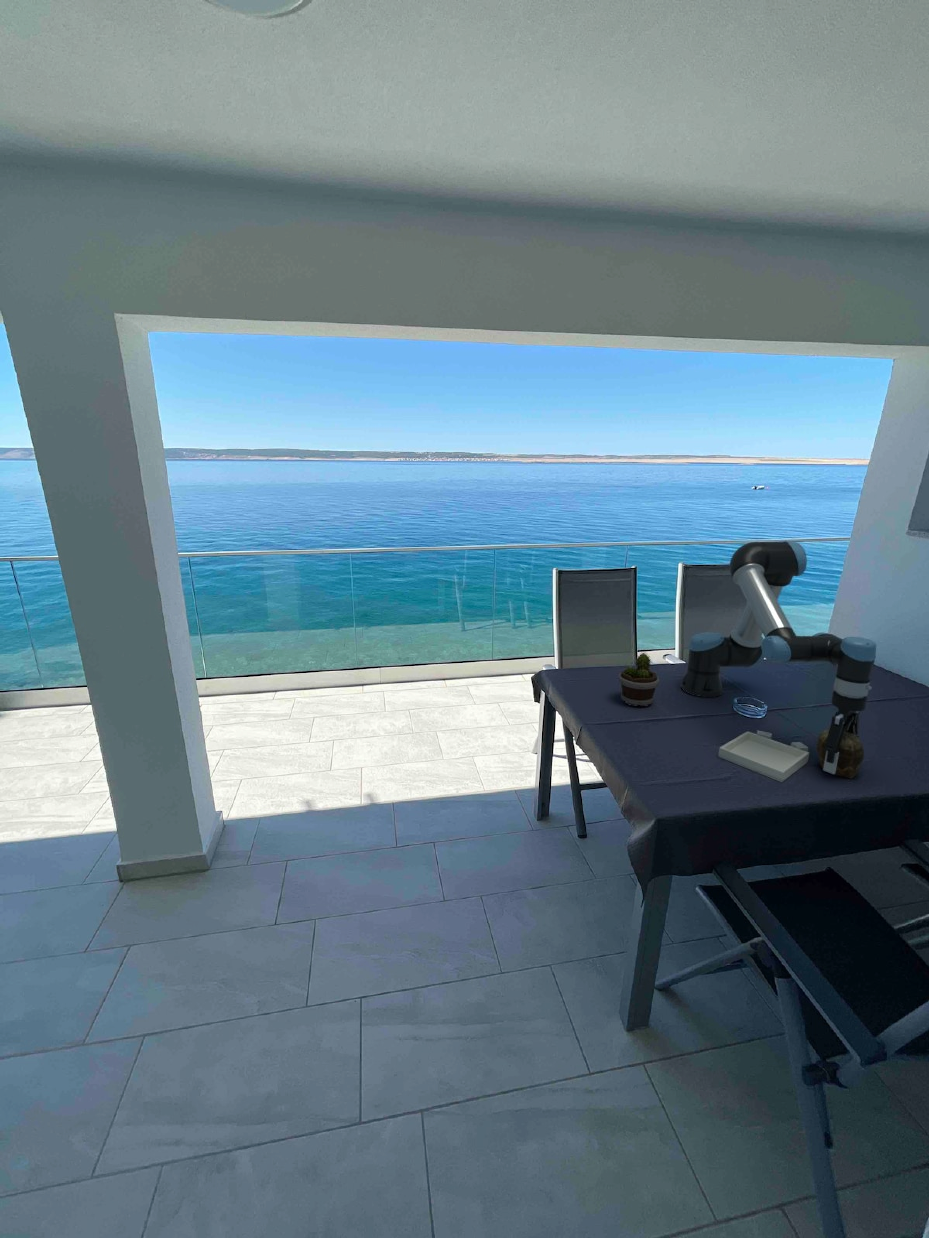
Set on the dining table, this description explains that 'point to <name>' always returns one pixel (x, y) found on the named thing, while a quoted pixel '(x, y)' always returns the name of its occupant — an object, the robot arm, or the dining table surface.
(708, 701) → the dining table surface
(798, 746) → the pebble
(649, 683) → the flowerpot
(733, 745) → the dish
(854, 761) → the shell
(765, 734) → the pebble
